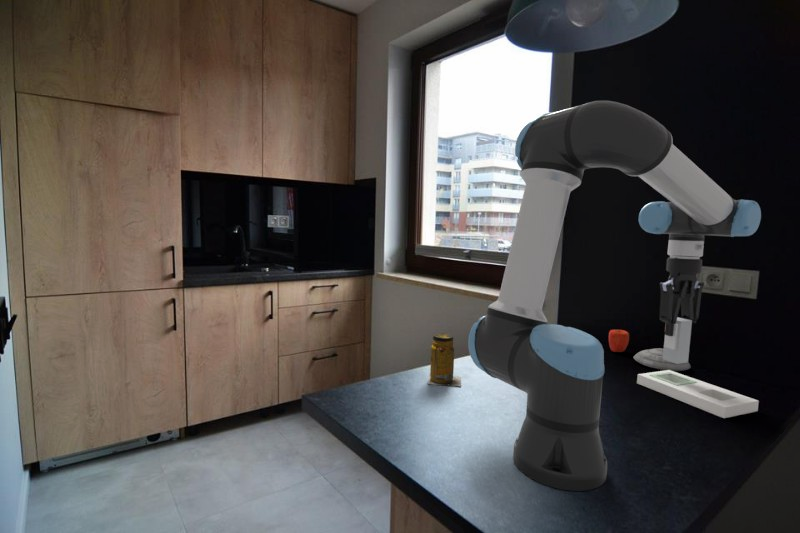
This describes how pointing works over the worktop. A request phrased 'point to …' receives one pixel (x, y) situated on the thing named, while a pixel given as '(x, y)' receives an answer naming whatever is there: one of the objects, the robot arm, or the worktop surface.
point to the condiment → (443, 361)
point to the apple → (618, 340)
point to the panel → (698, 393)
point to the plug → (680, 343)
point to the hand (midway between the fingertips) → (676, 347)
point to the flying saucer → (658, 360)
